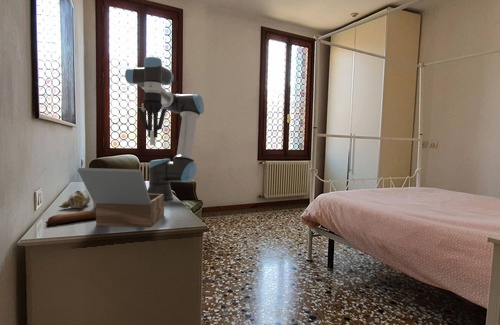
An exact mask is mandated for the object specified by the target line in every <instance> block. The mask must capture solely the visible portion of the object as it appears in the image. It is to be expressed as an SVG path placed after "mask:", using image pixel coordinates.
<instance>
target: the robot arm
mask: <svg viewBox="0 0 500 325" xmlns="http://www.w3.org/2000/svg"><path fill="white" fill-rule="evenodd" d="M124 72H125V74H124V76H125V78H124V79H125V81H126V82H127V83H128V84H132V85H137V86H139V87H140V88H141V89H142V90H144V93H143V101H144V102H143V105H142V106H141V107H138V108H137V110H138V111H139V113H140V117H141V122H142V125H143V129H144V130H147V136H148V138H149V144H150V146H156V139H157V138H158V131H161V130H162V128H163V125H164V120H165V117H166V113H167V112H168V111H169V112H171V113H174V114H180V117H181V123H180V130H179V138H178V143H177V150H176V155H175V156H174V157H173V160H172V161H171V158H163V159H154V160H153V159H152V160H150V161H149V164H148V165H149V166H148V187H147V190H148V194H164V201H170V200H172V199H173V198H174V196H173V191H172V188H171V182H177V183H190V182H192V181H193V180H194V179H195V177H196V174H197V163H196V162H195V161H194V158H193V149H194V141H195V136H196V135H195V134H196V125H197V120H198V119H200V118H201V117H200V115H203V114H204V112H205V105H204V101H203V97H202V96H201V95H200V94H195V93H191V94H189V93H188V94H182V93H181V94H180V93H176V94H175V93H172V92H170V91H167V90H166V89H165V88H164V87H163V86H162V85H164V86H169V85H171V84H172V83H173V82H174V78H175V77H174V73H173V71H171V70H169V69H168V68H166V67H164V66H163V63H162V59H161V58H159V57H158V56H146V57H145V58H144V62H143V67H129V68H126V70H125V71H124ZM145 111H146V112H147V113H145ZM159 112H160V115H159ZM146 115H147V116H146ZM158 117H159V118H158ZM158 119H159V120H158Z"/></svg>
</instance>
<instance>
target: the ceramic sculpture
mask: <svg viewBox="0 0 500 325" xmlns="http://www.w3.org/2000/svg"><path fill="white" fill-rule="evenodd" d="M90 201H91V196H90V194H89V192H88V191H86V190H84V191H81V190H76V191H75V192H74V193H73V194H70V196H68V199H67V200H65V201H64V202H63V203H62V204H61V205H59V206H58V207H59V208H62V209H68V208H70V207H71V209H83V208H84V207H85V206H87V205H88V204H89V203H90Z"/></svg>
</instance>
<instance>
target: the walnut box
mask: <svg viewBox="0 0 500 325" xmlns="http://www.w3.org/2000/svg"><path fill="white" fill-rule="evenodd" d="M149 197H150V200H151V205H139V204H107V203H96V208H95V213H96V219H95V223H96V224H95V225H96V226H107V227H133V228H134V227H138V228H152V227H153V226H154V225H155V224H157V223H158V222H159V221H160V219H162V218H163V217H164V216H165V200H164V194H149Z"/></svg>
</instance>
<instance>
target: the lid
mask: <svg viewBox="0 0 500 325" xmlns="http://www.w3.org/2000/svg"><path fill="white" fill-rule="evenodd" d="M77 173H78V174H79V176H80V178H81V180H82V182H83V185H84V186H85V188H86V189H87V193H88V195H89V197H90V199H92V202H94V203H107V204H139V205H151V200H150V197H149V194H148V187H147V185H146V181H145V178H144V175H143V172H142V169H131V168H130V169H129V168H127V169H126V168H101V167H100V168H96V167H95V168H93V167H78V169H77Z"/></svg>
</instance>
